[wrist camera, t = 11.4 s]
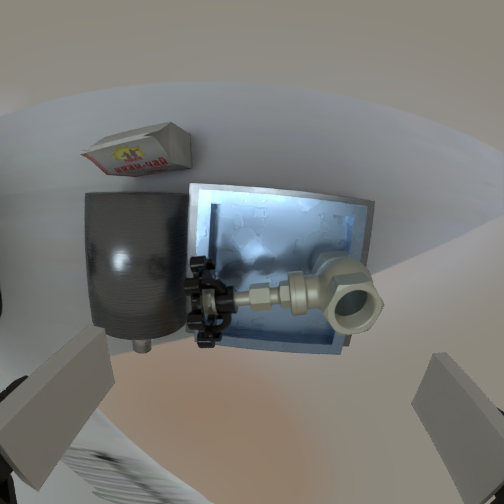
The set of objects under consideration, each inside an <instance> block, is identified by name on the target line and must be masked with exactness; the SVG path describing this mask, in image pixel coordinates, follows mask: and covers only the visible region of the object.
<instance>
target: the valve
mask: <svg viewBox="0 0 504 504" xmlns="http://www.w3.org/2000/svg"><path fill="white" fill-rule="evenodd" d="M190 269H191V272H192V273H193V278H186V279H185V280H184V283H183V288H184V293H185V295H186V296H190V298H191V306H192V310H191V312H189V313H188V315H187V326H188V328H189V329H190V330H198V334H197V344H198V346H199V348H214V346H215V342H221V340H222V332H223V331H225V330H226V329H227V328H228V327H229V326H230V324H231V321H232V314H236V313H237V312H238V306H247V305H250V306H251V310H252V311H253V312H256V311H267V310H272V304H280V305H281V308H282V309H288V308H291V312H292V316H297V315H306V314H307V310H308V309H315V308H318V309H321V310H322V313H323V315H324V316H325V317H326V319H327V320H328V322H329V323H330V325H331V326H332V327H333V329H334V330H335V331H336V332H337V334H338V335H351V334H357V333H362V332H365V331H368V330H369V329H370V328H371V327H372V326H373V324H374V323H375V321H376V320H377V318H378V317H379V315H380V313H381V311H382V309H383V307H384V303H383V301H382V299H381V297H380V296H379V294H378V292H377V291H376V289H375V287H374V285H373V281H372V277H371V275H370V273H369V271H368V269H367V268H366V267H365V266H364V265H363V264H362V263H361V262H359V261H358V260H356V259H353V258H351V257H350V256H349V254H348V253H347V252H346V251H345V250H339V251H329V252H323V253H321V254H320V255H319V257H318V259H317V261H316V263H315V265H314V267H313V269H312V271H311V274H310V275H304V273H303V271H293V272H288V280H285V281H280V282H279V285H278V286H277V287H270V284H269V282H265V283H255V284H250V286H249V291H241V292H237V289H236V287H235V285H225V284H224V283H223V282H221V280H220V279H213V277H212V275H211V273H210V270H213V269H216V266H215V261H214V259H213V258H208V259H207V257H206V256H205V255H202V256H193V257H191V258H190ZM205 314H208V318H207V320H206V317H205ZM222 319H223V322H222V323H221V324H220V325H217V320H222Z"/></svg>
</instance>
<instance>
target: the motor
mask: <svg viewBox="0 0 504 504" xmlns="http://www.w3.org/2000/svg"><path fill="white" fill-rule="evenodd" d="M374 204H375V201H370V200H363V199H357V198H349V197H342V196H335V195H327V194H318V193H310V192H301V191H291V190H281V189H271V188H259V187H246V186H232V185H216V184H196V183H190V189H189V194H183V193H165V192H92V193H85V253H86V269H87V281H88V291H89V300H90V308H91V316H92V321H93V324H94V326H97V327H101V328H105V332H106V334H107V335H109V336H112V337H116V338H120V339H127V340H132V342H133V349H134V351H135V352H137V353H147V352H149V351H150V350H151V339H154V338H159V337H163V336H166V335H169V334H171V333H174V332H176V331H177V330H179V329H180V328H181V327H183V326H184V324H185V323H186V332H190V333H195V342H197V334H198V330H190V329H189V328H188V326H187V315H188V313H189V312H191V310H192V306H191V298H190V296H186V295H185V293H184V288H183V283H184V280H185V279H186V278H193V273H192V272H191V269H190V258H191V257H193V256H202V255H205V256H206V257H207V259H208V258H213V259H214V261H215V266H216V269H213V270H210V273H211V275H212V277H213V279H220V280H221V282H223V283H224V284H225V285H235V287H236V289H237V292H241V291H249V286H250V284H255V283H265V282H269V284H270V287H277V286H278V285H279V282H280V281H285V280H288V272H293V271H303V273H304V275H310V274H311V271H312V269H313V267H314V265H315V263H316V261H317V259H318V257H319V255H320V254H321V253H323V252H329V251H339V250H345V251H346V252H347V253H348V254H349V256H350V257H351V258H353V259H356V260H358V261H359V262H361V263H362V264H363V265H364V266H365V267H366V263H367V257H368V251H369V244H370V237H371V230H372V222H373V214H374ZM205 317H206V320H207V318H208V314H205ZM222 322H223V319H222V320H217V325H220V324H221V323H222ZM351 336H352V334H351V335H338V334H337V332H336V331H335V330H334V329H333V327H332V326H331V325H330V323H329V322H328V320H327V319H326V317H325V316H324V315H323V313H322V310H321V309H318V308H315V309H308V310H307V314H306V315H297V316H292V312H291V308H288V309H282V308H281V305H280V304H272V310H267V311H256V312H253V311H252V310H251V306H250V305H247V306H238V312H237V313H236V314H232V321H231V324H230V326H229V327H228V328H227V329H226V330H225V331H223V332H222V340H221V342H215V345H221V346H229V347H237V348H246V349H256V350H268V351H279V352H293V353H311V354H338V355H340V354H341V350H342V347H343V346H349V344H350V340H351Z"/></svg>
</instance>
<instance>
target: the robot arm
mask: <svg viewBox="0 0 504 504" xmlns="http://www.w3.org/2000/svg"><path fill="white" fill-rule="evenodd" d="M0 315H1V295H0ZM114 383H115V381H114V376H113V371H112V366H111V362H110V356H109V351H108V345H107V339H106V332H105V328H101V327H97V326H93V325H89V326H87V327H86V328H85V329H84V330H83V331H81V332H80V333H79V334H78V335H77V336H75V337H74V338H73V339H72V340H71V341H69V342H68V343H67V344H66V345H65V346H63V347H62V348H61V349H60V350H59V351H58V352H56V353H55V354H54V355H53V356H52V357H51V358H49V359H48V360H47V361H46V362H45V363H44V364H43V365H41V366H40V367H39V368H38V369H37V370H36V371H35V372H34V373H32V374H31V375H30V376H27V375H26V376H24V377H21V378H19V379H17V380H15V381H14V382H12V383H11V384H10V385H9V386H8V387H7V388H6V390H3V391H2V392H1V393H0V504H17V500H16V494H15V488H14V482H13V478H12V476H11V475H10V474H11V472H12V471H14V472H15V473H16V474H17V475H18V477H19V478H20V479H21V480H22V481H23V482H25V483H26V484H27V485H29V486H31V487H32V488H33V489H35V490H37V491H39V490H40V488H41V487H42V485H43V484H44V482H45V481H46V479H47V478H48V476H49V475H50V473H51V472H52V470H53V469H54V467H55V466H56V465H57V463H58V461H59V460H60V459H61V457H62V456H63V454H64V453H65V451H66V450H67V449H68V447H69V446H70V444H71V443H72V441H73V440H74V439H75V437H76V436H77V434H78V433H79V432H80V430H81V429H82V427H83V426H84V424H85V423H86V422H87V420H88V419H89V418H90V416H91V415H92V413H93V412H94V411H95V409H96V408H97V406H98V405H99V404H100V402H101V401H102V400H103V398H104V397H105V395H106V394H107V393H108V391H109V390H110V389H111V387H112V386H113V385H114ZM411 404H412V406H413V408H414V410H415V411H416V413H417V415H418V416H419V418H420V420H421V422H422V423H423V425H424V427H425V429H426V431H427V432H428V434H429V435H430V437H431V440H432V441H433V443H434V445H435V447H436V449H437V451H438V452H439V454H440V456H441V458H442V460H443V462H444V464H445V465H446V467H447V469H448V471H449V473H450V475H451V477H452V479H453V481H454V483H455V485H456V487H457V489H458V491H459V493H460V496H461V497H462V500H463V502H464V504H485V503H486V502H487V501H488V500H489V499H490V498H491V497H492V496H493V495H495V497H496V498H495V499H494V500H493V501H492V502H491V503H490V504H504V412H503V411H501V410H500V409H498V408H497V407H496V406H495V405H494V404H493V403H492V402H491V401H490V399H489V398H488V397H487V396H486V395H485V394H484V393H483V392H482V390H481V389H480V388H479V387H478V386H477V385H476V384H475V383H474V382H473V380H472V379H471V378H470V377H469V376H468V375H467V374H466V373H465V372H464V371H463V370H462V369H461V368H460V366H458V364H457V363H456V362H455V361H454V360H453V359H452V358H451V357H450V356H449V355H448V354H447V353H445V352H444V353H434V354H433V355H432V357H431V360H430V363H429V365H428V367H427V370H426V372H425V375H424V377H423V380H422V382H421V384H420V386H419V388H418V391H417V393H416V395H415V397H414V399H413V401H412V403H411Z"/></svg>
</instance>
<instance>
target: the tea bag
mask: <svg viewBox="0 0 504 504" xmlns="http://www.w3.org/2000/svg"><path fill="white" fill-rule="evenodd" d="M83 150H88V151H86V152H84V153H82V154H81V155H83V156H85V157H87V158H88V159H89V160H91V161H92V162H93V163H94V164H95V165H97V166H98V167H99V168H100V169H101V170H102V171H103V172H104V173H105V174H106V175H116V176H131V177H137V176H143V175H149V174H155V173H161V172H168V171H175V170H182V169H190V168H192V160H191V142H190V134H189V133H187V132H186V131H184V130H183V129H181V128H180V127H178V126H177V125H175V124H174V123H172V122H168V123H163V124H158V125H153V126H148V127H144V128H139V129H135V130H131V131H127V132H123V133H119V134H115V135H111V136H108V137H105V138H103V139H102V140H100V141H99V142H97V143H96V144H94V145H93V146H91V147H89V148H86V149H83Z"/></svg>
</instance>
